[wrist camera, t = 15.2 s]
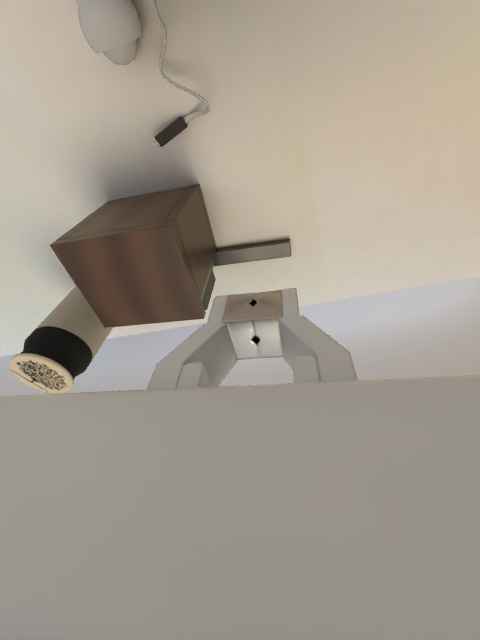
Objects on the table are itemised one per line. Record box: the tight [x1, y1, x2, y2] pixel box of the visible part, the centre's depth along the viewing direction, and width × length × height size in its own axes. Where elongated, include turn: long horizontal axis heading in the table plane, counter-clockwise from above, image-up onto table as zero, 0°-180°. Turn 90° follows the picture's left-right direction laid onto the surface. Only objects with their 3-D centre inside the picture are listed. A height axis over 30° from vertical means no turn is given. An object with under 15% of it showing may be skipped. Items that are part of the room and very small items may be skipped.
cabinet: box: [50, 184, 291, 328], centre depth 34 cm, size 24×11×13 cm, turn 101°
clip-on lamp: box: [77, 0, 210, 147], centre depth 25 cm, size 12×6×18 cm
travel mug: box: [9, 286, 113, 393], centre depth 41 cm, size 8×8×18 cm
